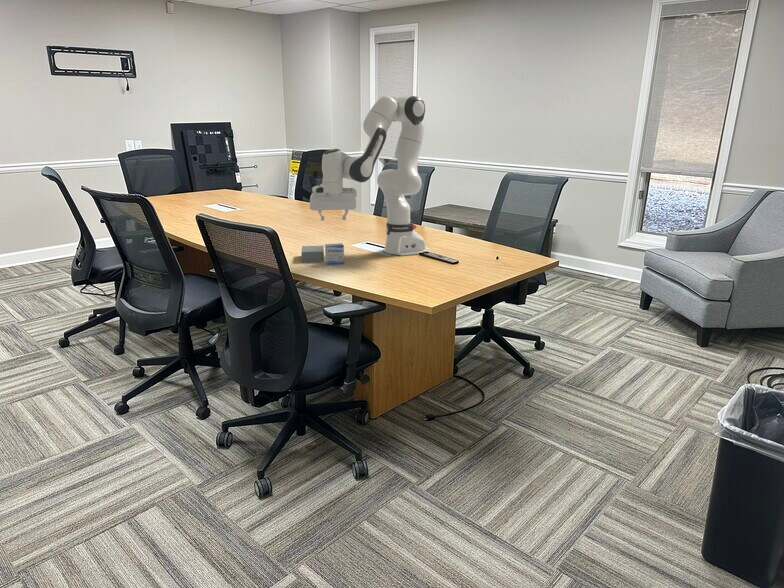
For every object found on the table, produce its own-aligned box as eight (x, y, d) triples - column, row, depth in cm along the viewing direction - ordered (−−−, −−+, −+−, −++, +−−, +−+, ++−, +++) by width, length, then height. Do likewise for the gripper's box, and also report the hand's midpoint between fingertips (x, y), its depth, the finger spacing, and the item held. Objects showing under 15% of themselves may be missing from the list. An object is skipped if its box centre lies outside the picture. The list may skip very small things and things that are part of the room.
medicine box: (327, 265, 243) (326, 246, 240) (325, 262, 247) (324, 243, 244) (344, 263, 245) (344, 244, 242) (342, 261, 249) (342, 242, 246)
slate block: (323, 255, 260) (323, 245, 258) (324, 262, 249) (323, 251, 247) (302, 256, 259) (302, 246, 257) (301, 262, 247) (301, 252, 246)
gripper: (355, 186, 241) (355, 218, 245) (308, 187, 236) (309, 219, 241) (357, 188, 235) (357, 220, 239) (309, 189, 231) (310, 221, 235)
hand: (333, 219), depth 240 cm, fingers open, 8 cm apart
